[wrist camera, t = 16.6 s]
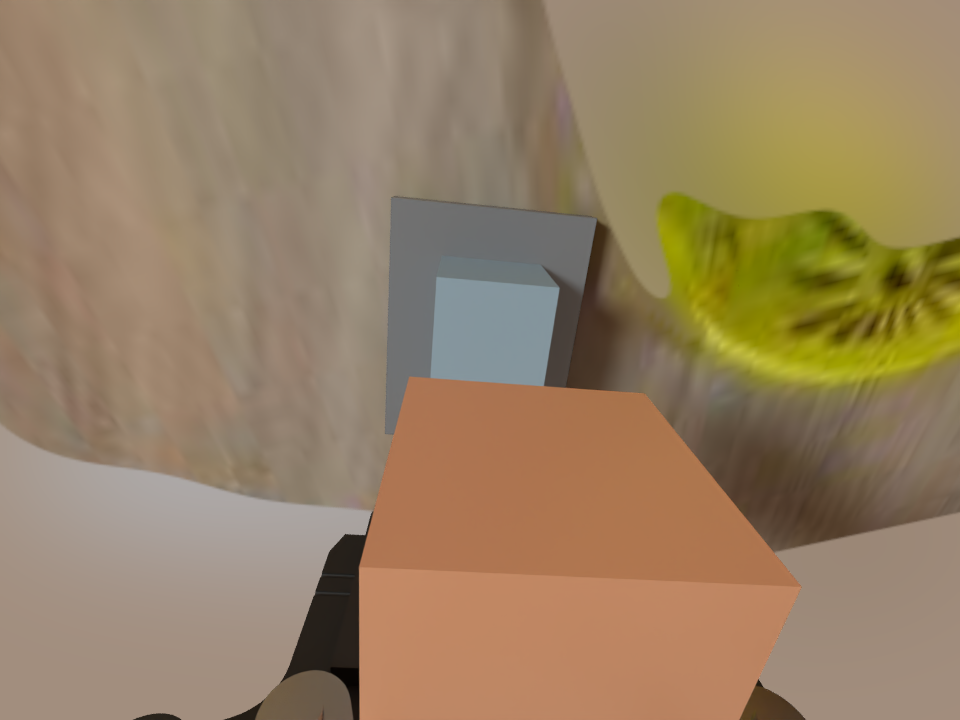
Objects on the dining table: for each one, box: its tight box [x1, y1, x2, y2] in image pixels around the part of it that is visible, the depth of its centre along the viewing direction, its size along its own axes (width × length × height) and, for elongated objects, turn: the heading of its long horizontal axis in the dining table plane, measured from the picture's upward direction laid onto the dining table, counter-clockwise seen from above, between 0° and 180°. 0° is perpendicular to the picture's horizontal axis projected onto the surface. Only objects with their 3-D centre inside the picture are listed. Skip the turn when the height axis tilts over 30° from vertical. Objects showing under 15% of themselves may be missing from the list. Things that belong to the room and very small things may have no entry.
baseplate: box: [385, 196, 597, 435], centre depth 25 cm, size 10×13×1 cm
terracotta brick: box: [359, 377, 802, 720], centre depth 9 cm, size 5×8×5 cm, turn 175°
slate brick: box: [430, 256, 560, 386], centre depth 23 cm, size 5×8×5 cm, turn 175°
